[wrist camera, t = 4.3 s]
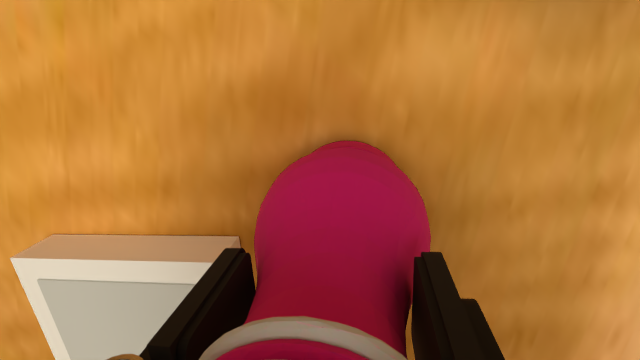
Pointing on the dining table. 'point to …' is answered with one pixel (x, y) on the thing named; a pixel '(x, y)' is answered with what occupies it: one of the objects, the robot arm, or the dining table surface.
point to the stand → (111, 287)
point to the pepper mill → (333, 261)
